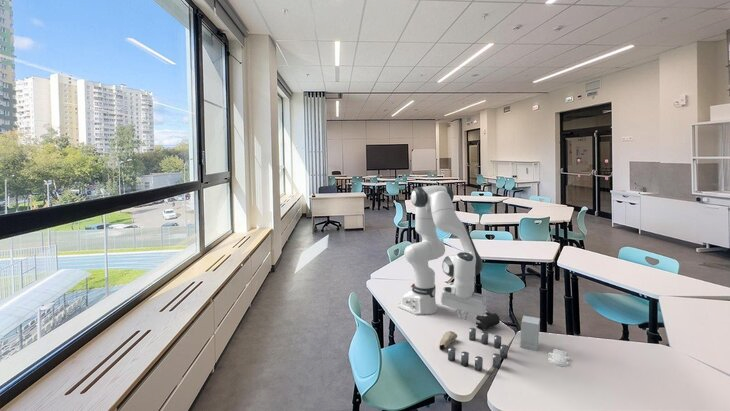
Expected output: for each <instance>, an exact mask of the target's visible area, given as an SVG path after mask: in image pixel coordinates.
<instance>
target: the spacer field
mask: <svg viewBox="0 0 730 411" xmlns="http://www.w3.org/2000/svg"><path fill="white" fill-rule="evenodd" d="M476 337H477V329H476V327H470V328H468V339H469V341H471V342H472V341H474V342H475V341H476V340H477V338H476ZM502 338H503V337H502V336H501V335H499V334H498V335H497V334H496V335H494V338H493V339H494V340H493V341H494V343H493V348H495V349H497V350H500V351H499V352H500V354H499V353H497V352H496V353H493V354H492V368H494V369H500V368H501V359H503V360H506V359H508V353H509V352H508V350H509V346H508V345H507V344H504V343H503V344H502ZM480 341H481V344H482V345H485V346H486V345H489V332H488V331H486V330H484V331H483V330H482V331H481V340H480ZM447 351H448V352H447V356H448V357H447V360H448V361H449V362H453V363H454V362H455V361H456V348H455V347H453V346H450V347H449V346H448V348H447ZM460 353H461V355H460V356H461V359H460V360H461V361H460V365H461V366H463V367H468V366H469V362H470V361H469V356H470V355H469V353H470V352H467V351H461V352H460ZM483 359H484V358H483V357H482V356H479V355H478V356H475V357H474V371H476V372H483V363H484V362H483V361H484V360H483Z"/></svg>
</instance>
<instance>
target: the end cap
mask: <svg viewBox="0 0 730 411" xmlns="http://www.w3.org/2000/svg"><path fill="white" fill-rule="evenodd" d="M475 320H477V321H475V325H476V326H475V328H477V329H479V330H481V331H482V332H483V331H486V330H488V329H491V328H493V327H496V326H498V325H499V324H500V322H501V319H500V316H499V315H498V314H497V313H495V312H494V313H491V312H490V311H489V312H488V311H486V313H485V314H484V315H483V316H479V315H475ZM478 321H479V322H478Z"/></svg>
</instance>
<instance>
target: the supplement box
mask: <svg viewBox="0 0 730 411" xmlns="http://www.w3.org/2000/svg"><path fill="white" fill-rule="evenodd" d="M540 323H541V318H540V317H534V316H528V315H523V316H522V319H521V325H520V341H519V342H520V343H519V348H521V349H525V350H531V351H536V352H537V351H538V346H539V338H540V325H541V324H540Z"/></svg>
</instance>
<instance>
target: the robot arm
mask: <svg viewBox="0 0 730 411" xmlns="http://www.w3.org/2000/svg"><path fill="white" fill-rule="evenodd" d="M454 195H455V194H454V190H453V189H452V187H451V186H449V185H444V184H443V185H435V184H434V185H428V186H426V185H425V186H418V187H417V186H416V187H415V188H413V190H411V196H410V199H411V203H412V205H413V206H414V207H415V213H414V214H415V218H414V225H415V226H414V228H415V229H414V230H415V232H416V233H417V234H418V235H420V236H421V241H419V242H414V243H411V244H409V245H408V246H406V247H405V249H404V251H403V252H404V253H403V255H404V256H403V257H404V258H405V260H406V261H407V263H409V264H410V265H411V267H412V268H413V272H414V283H412V284H411V285H410V288H412V289H410V290H409V291H407V292H405V294H403V296H402V298H401V301H399V302H398V304H397V307H398V308H399V309H401V310H404V311H406V312H409V313H411V314H413V315H415V316H419V315H431V314H434V313H436V312H438V307H437V302H436V289H437V288H436V283H435V282H436V272H435V270H433V268H431V267H429V261H435V260H437V259H440V258H441V257H443V256H444V255H445V254H446V246H445V244H444V242H443V241H442V240H441V239H440V238H439V236H438V232H437V229H438V230H439V231H441V232H444V233H448V234H451V235H452V236H453V235H454V236H455V237H456V238H458V239H459V241H460V243H461V246H462V248H463V250H464V252H463V251H461V252H458V253H456V254H453V255H452V254H451V255H446V256H445V257H444V258H443V260H442V272H443V273H444V274H445V275H447V276H448V277H449V278H453V279H454V280H453V282H447V283H446V284H444V285H443V287H442V290H443V291H441V296H440V303H441V304H442V305H443V306H446V307H450V308H452V309H455V310H456V313H457V315H458V319H460V320H463V321H466V319H467V316H468V315H469V314H473V315H475V316H477V315H479V316H485V315H486V314H485V313H486V312H487V297H486V296H485V295H484V294H482V293H478V292H475V280H474V279H475V277H476V276H478V275H479V274H480V273H481V272H482V271H483V268H484V263H483V260H482V258H481V255H480V254H479V252H478V250H477V249H476V245H475V243H474V241H473V239H472V237H471V233H470V232H469V230H468V228H467V225H466V224H465V223H464V222H463V221H462V220H460V218H459V217H458V215H457V213H456V211H455V205H454V203H453V200H454ZM462 312H463V313H464V314H463V313H462Z"/></svg>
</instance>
